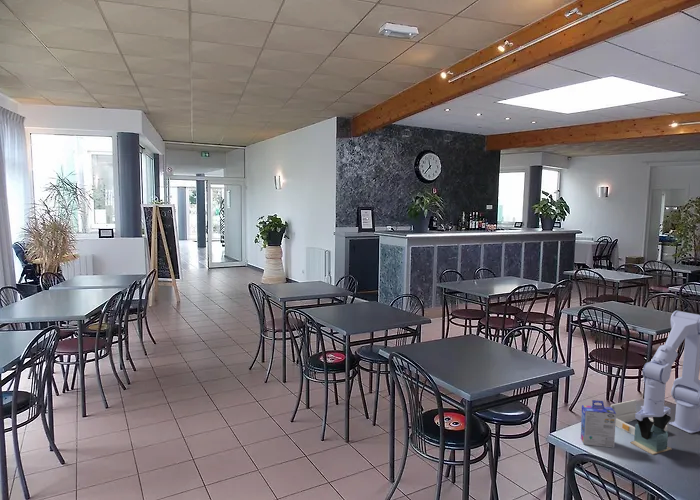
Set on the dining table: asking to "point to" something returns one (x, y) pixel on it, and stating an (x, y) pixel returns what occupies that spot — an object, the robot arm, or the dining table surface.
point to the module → (652, 438)
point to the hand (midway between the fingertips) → (651, 436)
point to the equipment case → (625, 418)
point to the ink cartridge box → (598, 425)
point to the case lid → (624, 407)
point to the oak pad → (648, 448)
